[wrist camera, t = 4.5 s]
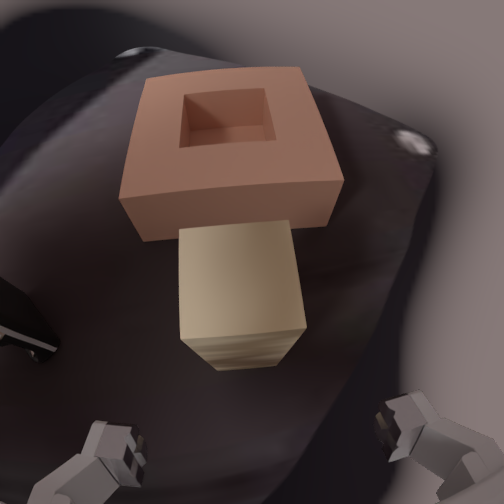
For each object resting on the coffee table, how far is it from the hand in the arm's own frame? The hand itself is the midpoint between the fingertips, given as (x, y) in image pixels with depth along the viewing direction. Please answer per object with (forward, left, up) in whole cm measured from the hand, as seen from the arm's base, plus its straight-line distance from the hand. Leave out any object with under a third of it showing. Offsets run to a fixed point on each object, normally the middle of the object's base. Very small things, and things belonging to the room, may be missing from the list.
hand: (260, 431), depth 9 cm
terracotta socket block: (0, +21, -11) cm, 24 cm away
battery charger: (-18, +6, -11) cm, 22 cm away
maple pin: (0, +5, -11) cm, 12 cm away
